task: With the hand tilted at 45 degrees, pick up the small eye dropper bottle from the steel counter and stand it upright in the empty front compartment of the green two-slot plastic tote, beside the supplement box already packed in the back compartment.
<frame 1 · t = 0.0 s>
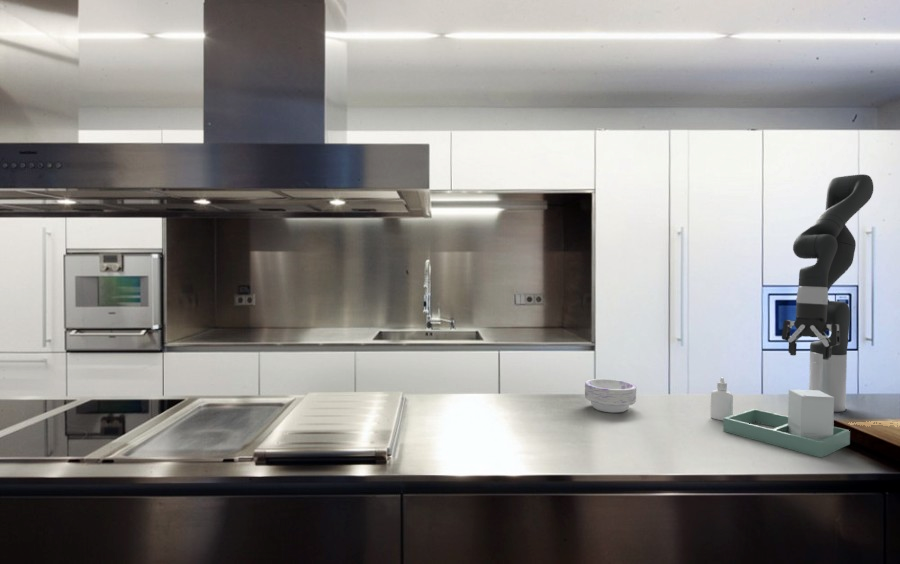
hand: (808, 357, 153), 17 cm above the countertop, tool pointing down, fingers open, 8 cm apart
tote: (783, 437, 134), on the countertop
paper bowls: (610, 409, 161), on the countertop
supplement box: (809, 443, 129), resting in tote
eye dropper bottle: (721, 419, 150), on the countertop
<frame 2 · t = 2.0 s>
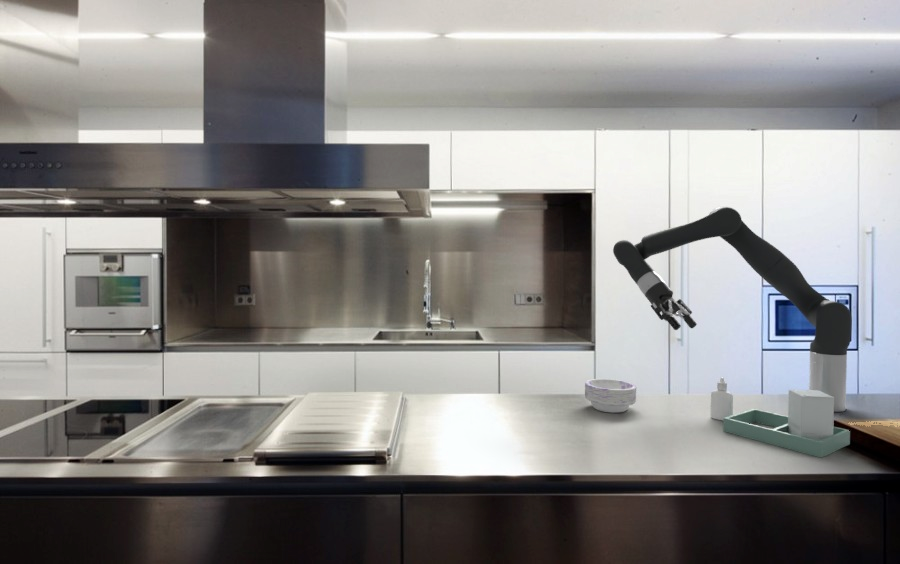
hand: (686, 327, 160), 25 cm above the countertop, tool tilted 45°, fingers open, 8 cm apart
nothing on the countertop moved.
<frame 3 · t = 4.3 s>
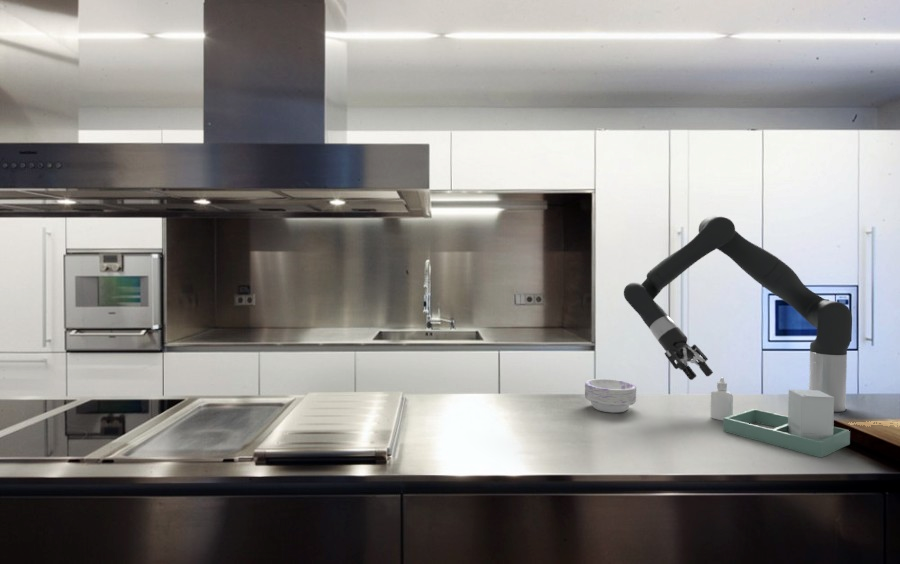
hand: (702, 376, 154), 11 cm above the countertop, tool tilted 45°, fingers open, 8 cm apart
nothing on the countertop moved.
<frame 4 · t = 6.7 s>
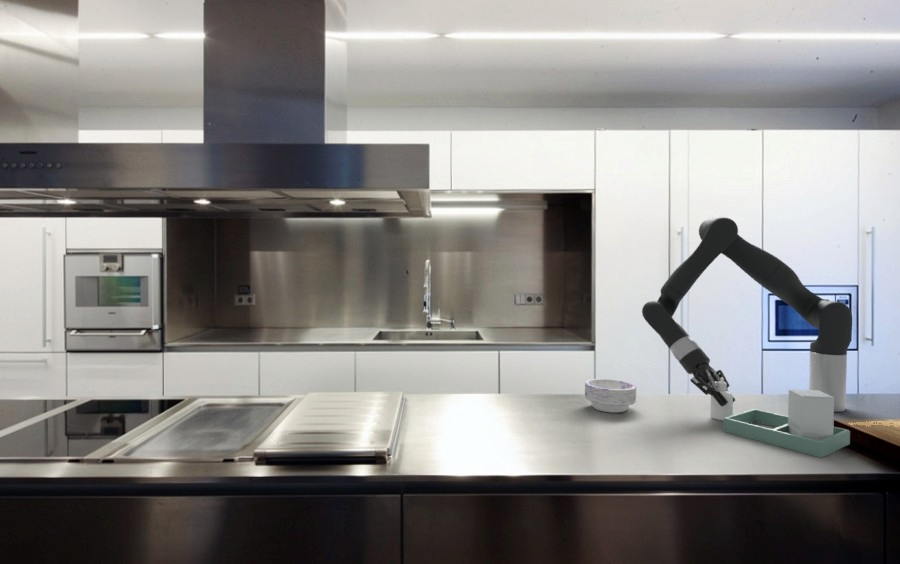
hand: (728, 403, 148), 5 cm above the countertop, tool tilted 45°, fingers closed on eye dropper bottle, 3 cm apart
eye dropper bottle: (721, 419, 150), on the countertop, touching gripper
everything else where it was.
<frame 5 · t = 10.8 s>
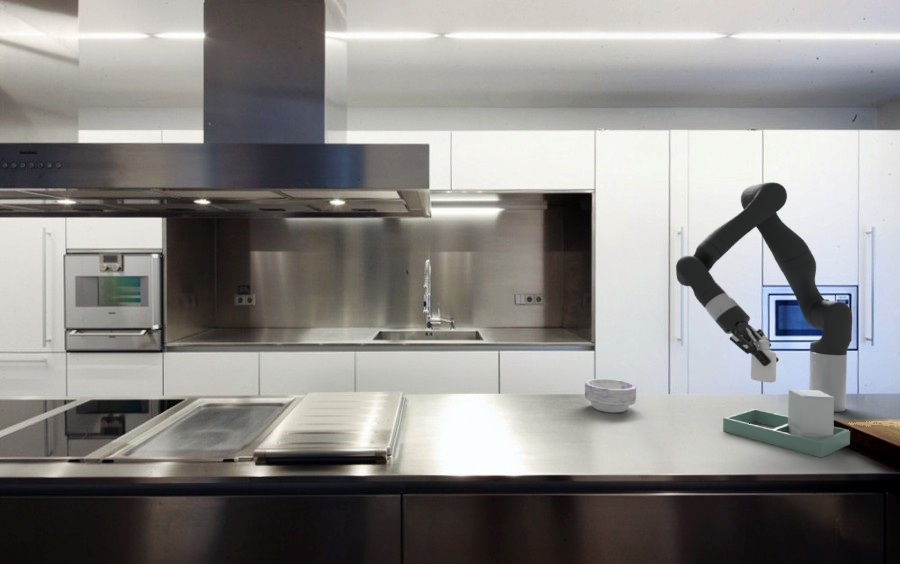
hand: (771, 363, 136), 19 cm above the countertop, tool tilted 45°, fingers closed on eye dropper bottle, 3 cm apart
eye dropper bottle: (763, 381, 138), point 14 cm above the countertop, touching gripper
everything else where it was.
when the fingers open (6 cm above the countertop, at t = 14.8 s): eye dropper bottle stays where it is, resting in tote.
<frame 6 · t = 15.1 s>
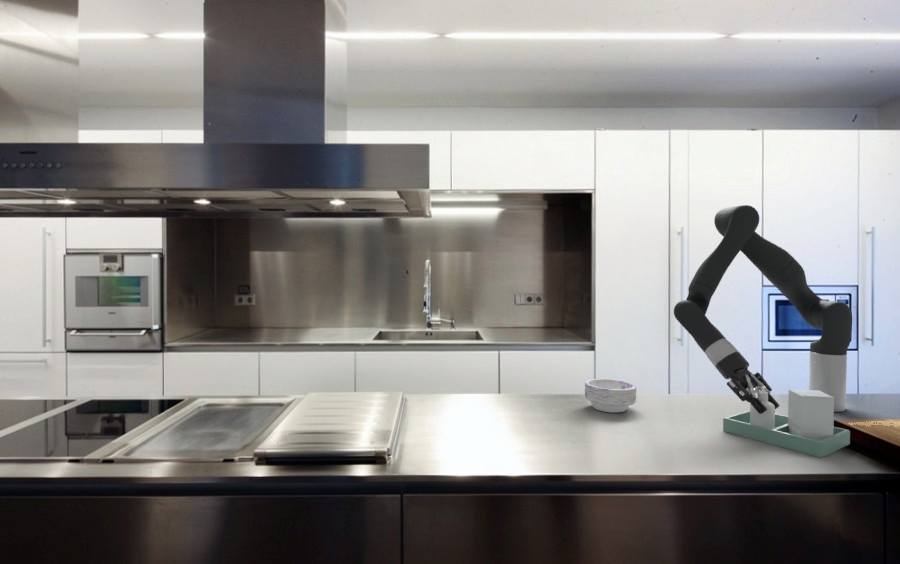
hand: (770, 409, 137), 6 cm above the countertop, tool tilted 45°, fingers open, 6 cm apart
eye dropper bottle: (761, 432, 139), resting in tote
everything else where it was.
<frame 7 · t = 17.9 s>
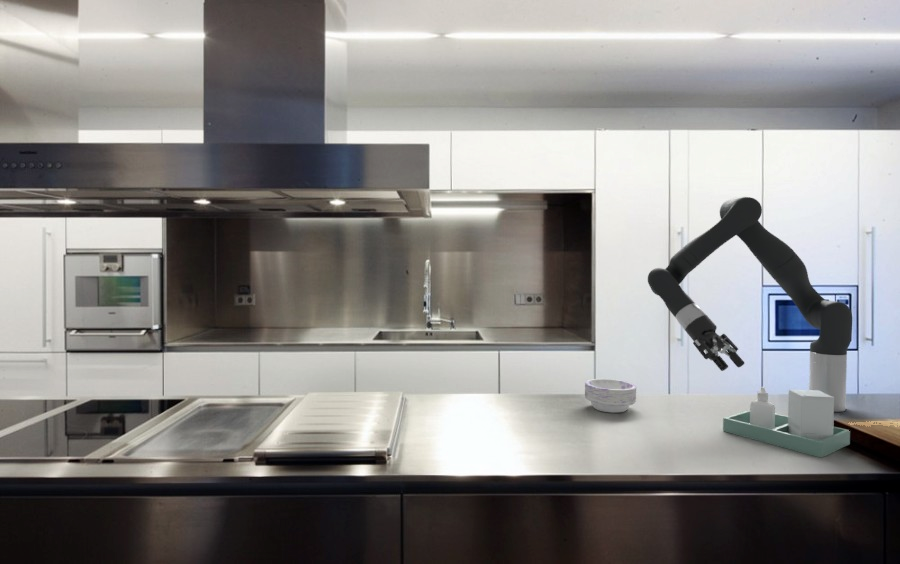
hand: (733, 367, 144), 16 cm above the countertop, tool tilted 45°, fingers open, 8 cm apart
nothing on the countertop moved.
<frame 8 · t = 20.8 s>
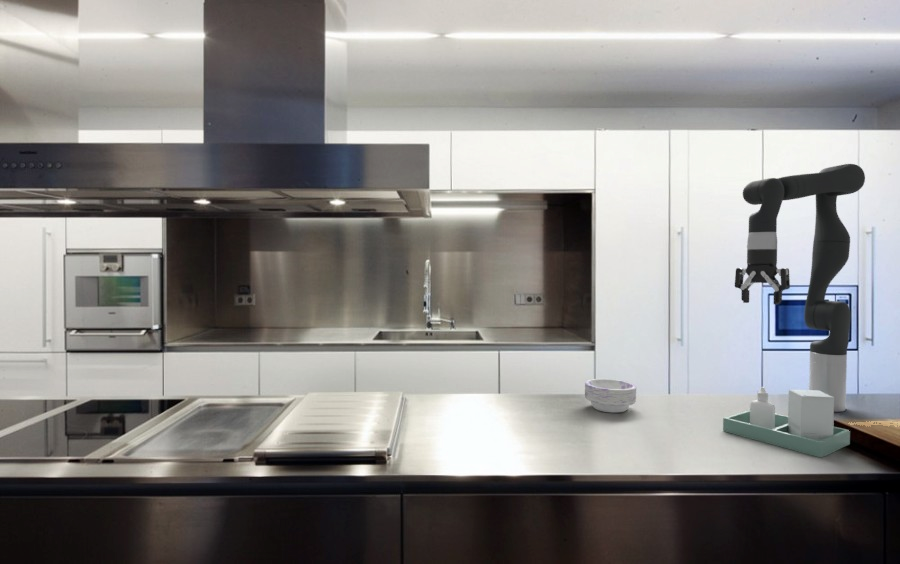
hand: (760, 303, 152), 33 cm above the countertop, tool pointing down, fingers open, 8 cm apart
nothing on the countertop moved.
at the end: eye dropper bottle inside the target area (0.0 cm from its centre), resting in tote; eye dropper bottle tilted 0°; supplement box moved 0.0 cm from its start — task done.
